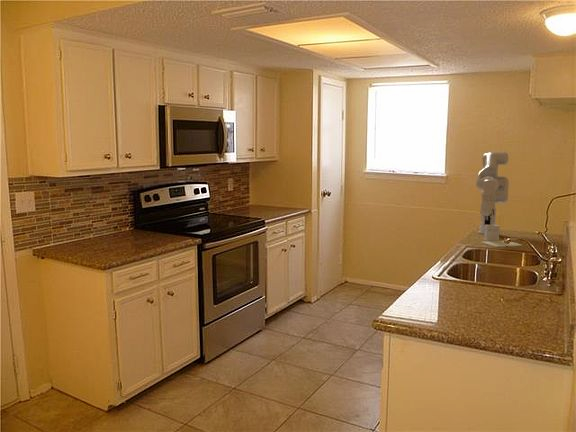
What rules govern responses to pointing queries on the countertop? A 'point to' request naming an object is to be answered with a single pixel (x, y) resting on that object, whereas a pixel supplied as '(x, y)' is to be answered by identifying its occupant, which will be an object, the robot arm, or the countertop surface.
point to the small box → (491, 233)
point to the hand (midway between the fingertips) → (487, 225)
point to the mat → (500, 244)
